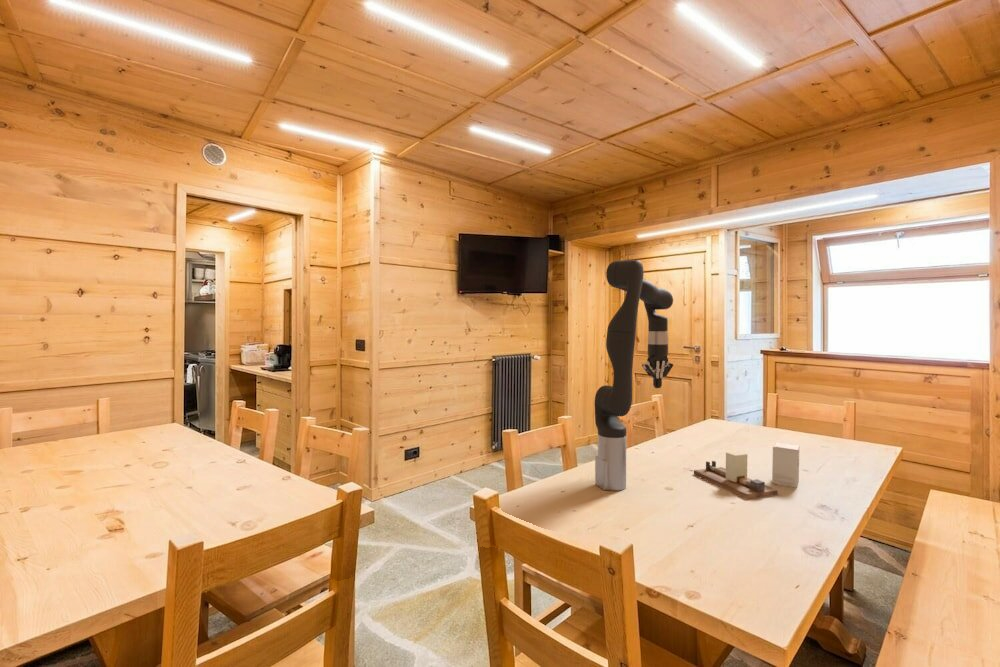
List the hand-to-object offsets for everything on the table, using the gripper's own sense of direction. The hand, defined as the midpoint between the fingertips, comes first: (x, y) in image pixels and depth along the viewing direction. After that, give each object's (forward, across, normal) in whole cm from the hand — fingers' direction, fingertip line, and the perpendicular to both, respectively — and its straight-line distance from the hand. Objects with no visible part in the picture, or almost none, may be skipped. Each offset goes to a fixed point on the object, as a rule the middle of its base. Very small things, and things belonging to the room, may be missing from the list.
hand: (657, 387), depth 179 cm
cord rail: (+29, +10, -28) cm, 42 cm away
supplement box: (+29, +28, -32) cm, 52 cm away
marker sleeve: (+27, +10, -29) cm, 41 cm away
